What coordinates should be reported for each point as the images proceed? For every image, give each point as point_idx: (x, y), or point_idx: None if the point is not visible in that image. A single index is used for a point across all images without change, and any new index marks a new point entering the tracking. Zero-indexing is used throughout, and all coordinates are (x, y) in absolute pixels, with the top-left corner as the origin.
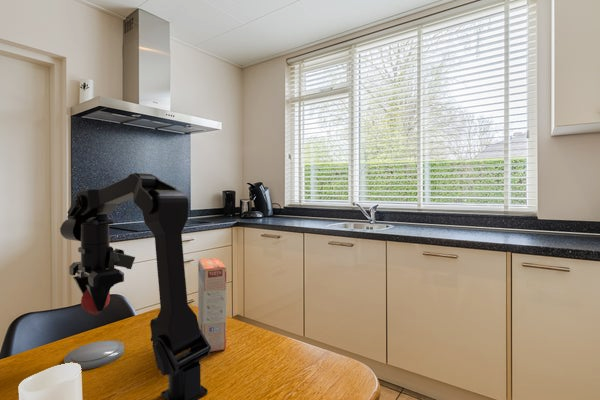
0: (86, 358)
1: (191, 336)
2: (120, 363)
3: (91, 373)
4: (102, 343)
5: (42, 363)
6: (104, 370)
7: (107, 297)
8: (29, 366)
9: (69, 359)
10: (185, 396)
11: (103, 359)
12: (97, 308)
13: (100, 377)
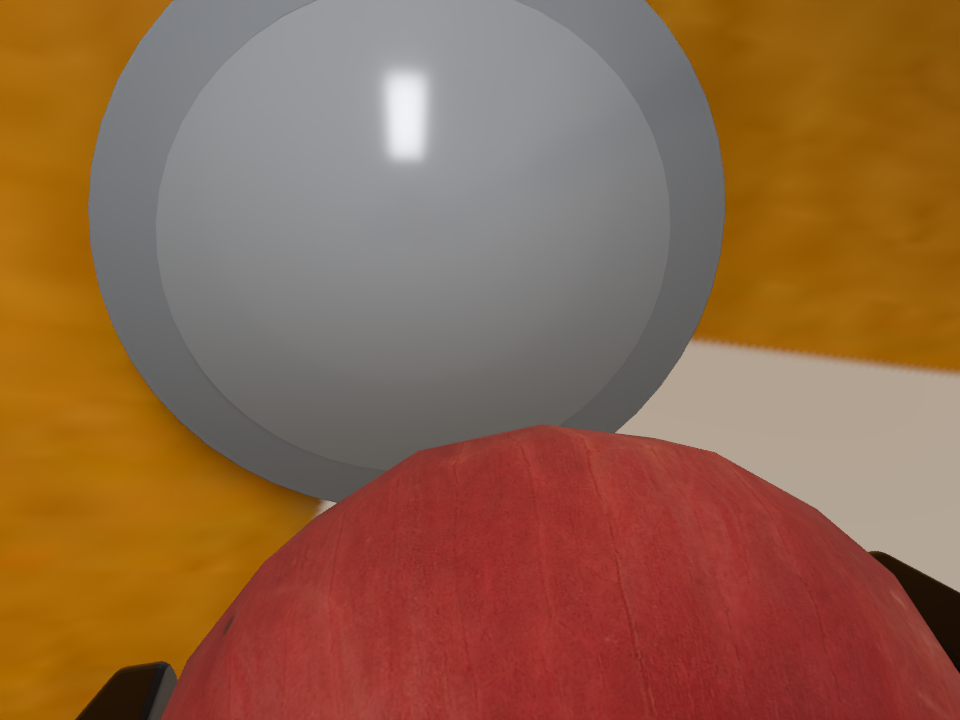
0: (575, 361)
1: None
2: (802, 54)
3: (765, 319)
4: (249, 144)
5: (213, 607)
6: (810, 219)
7: (943, 661)
8: None
9: None
10: None
11: (704, 220)
12: None
13: (906, 273)
